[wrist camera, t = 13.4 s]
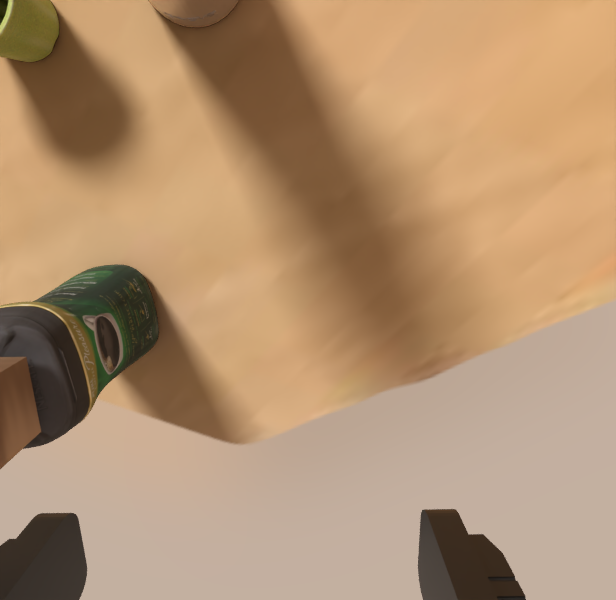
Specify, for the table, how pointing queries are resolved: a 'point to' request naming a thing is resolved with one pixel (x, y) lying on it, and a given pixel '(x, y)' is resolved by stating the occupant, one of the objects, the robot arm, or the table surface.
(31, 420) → the walnut block
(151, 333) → the coffee jar
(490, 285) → the table surface
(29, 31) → the plant pot
